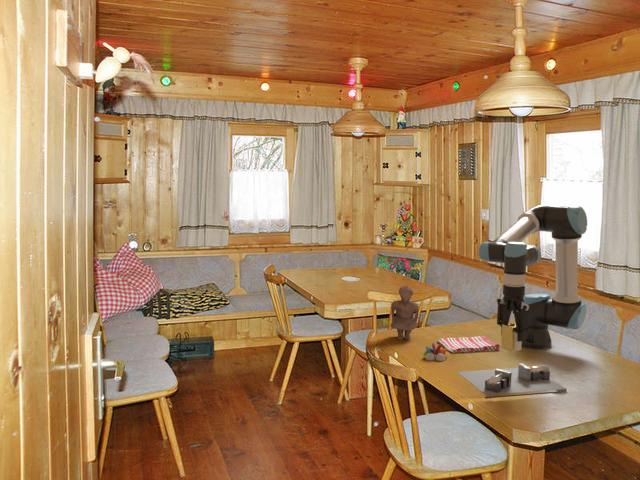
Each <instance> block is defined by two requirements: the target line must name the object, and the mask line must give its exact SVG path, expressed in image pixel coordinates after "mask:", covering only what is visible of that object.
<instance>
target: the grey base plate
mask: <svg viewBox="0 0 640 480" xmlns="http://www.w3.org/2000/svg"><path fill="white" fill-rule="evenodd" d="M495 369H496V368H494V369H483V370H482V369H480V370H468V371H467V370H464V371H457V373H458V374H459V376H462V377H463V378H464V379H465V380H467V381H468V382H469V383H470V384H471V385H473V386H474V387H475V388H477V390H479V391H480V392H482V393H483V394H484V395H485V396H484V398H485V399H494V398H496V399H497V398H509V397H521V396H523V397H524V396H532V395H533V396H534V395H545V394H547V395H548V394H557V393H558V394H560V393H568V389H567V387H564V386H563V385H561V384H559V383H558V382H556V381H555V380H553V379H551V378H550V380H542V379H541V378H539V381H532V380H530V382H526V381H524V380H523V379H521V378H520V377H518V367H515V368H514V367H512V368H511V367H509V368H500V369H501V370H505V371H509V372H512V375H511V386H510V387H508V386H506V388H505V389H501V391H500V392H498V393H496V392H493V391H489V390H486V389H485V380H487V379H490V378H491V377H492V376H495ZM531 392H532V393H531ZM535 392H536V393H535ZM518 393H519V394H518ZM520 393H521V394H520ZM504 394H505V395H504ZM506 394H507V395H506ZM509 394H510V395H509ZM492 395H493V396H492ZM494 395H495V396H494Z"/></svg>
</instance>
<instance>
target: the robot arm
mask: <svg viewBox="0 0 640 480" xmlns="http://www.w3.org/2000/svg"><path fill="white" fill-rule="evenodd" d="M587 227H588V218H587V214H586V210H585V209H584V208H583V207H581V206H580V205H572V204H546V203H545V204H540V205H537V206H534V207H531V208H529V209H528V210H526V211H524V212H522V214H520V215H519V216H518V218H517V220H516V221H515V222H514V223H513V224H512V225H511V226H509V227H508V228H507V229H505V231H504V232H502V233H501V234H500V235H499V236H498V237H496V238H495V239H494V240H493V241H492V242H491V241H484V242H481V243H480V244H479V247H478V256H479V259H480V260H481V261H485V262H490V263H499V264H503V278H502V279H503V281H502V284H503V285H502V295H503V297H501V298H497V299H496V302H497V316H496V324H497V326H500V327H501V330H500V331H501V332H500V336H501V337H502V324H508V323H510V318H511V314H513V315H514V321H515V322H514V323H515V324H516V330H517V331H515V338H514V350H519V349H521V350H522V348H526V349H532V350H546V349H550V348H551V347H552V337H551V334H550V331H549V326H552V327H553V326H554V327H559V328H564V329H567V330H568V329H571V330H579V329H580V328H581V327H582V325H583V324H584V322H585V319H586V316H587V309H588V308H587V305H586V304H585V303H584V302H582V297H581V296H580V295H579V294H578V281H579V280H578V277H579V276H578V274H579V273H578V267H579V265H578V264H579V263H578V259H579V258H578V256H579V255H578V253H579V252H578V251H579V250H578V249H579V247H578V243H579V242H578V241H579V240H581V239H582V237H583V235H584V234H585V233H586V231H587V230H588V228H587ZM537 232H547V233H551V238H552V239H553V240H554V241H555V293H554V294H553V295H552V297H551V296H550V294H549V293H531V294H526V287H525V284H526V274H527V267H529V266H531V267H532V266H534V265H536V264H537V263H538V262H539V261H540V260H541V258H542V251H541V250H540V248H539V247H538V246H536V245H535V244H527V243H525V242H523V241H524V240H525V239H526V238H527V237H529V236H530V235H533V234H535V233H537ZM521 341H522V347H521ZM519 351H520V350H519Z"/></svg>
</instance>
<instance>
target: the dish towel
mask: <svg viewBox="0 0 640 480" xmlns="http://www.w3.org/2000/svg"><path fill="white" fill-rule="evenodd" d="M437 342H438V343H439V344H441V345H442V346H441V347H444V349H446V350H447V351H449V352H450V353H451V352H452V353H451V354H457V353H459V352H460V353H459V354H462V353H461V352H464V353H476V352H475V351H479V352H494V351H498V350H499V351H500V349H501V344H499V343H498V342H497V343H495V342H492V341H490V340H489V339H487V337H486V336H485V335H478V336H470V337H443V338H441V337H440V338H437Z"/></svg>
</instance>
